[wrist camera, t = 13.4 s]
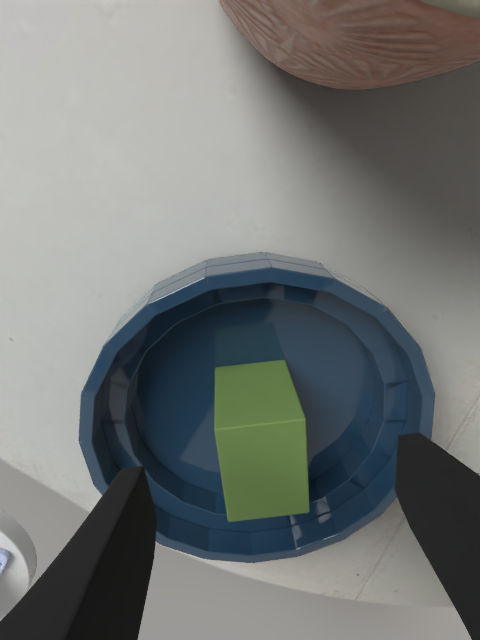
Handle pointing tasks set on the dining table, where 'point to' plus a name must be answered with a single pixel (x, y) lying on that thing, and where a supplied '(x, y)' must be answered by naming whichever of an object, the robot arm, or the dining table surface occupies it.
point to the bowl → (242, 348)
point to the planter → (361, 38)
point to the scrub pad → (260, 441)
